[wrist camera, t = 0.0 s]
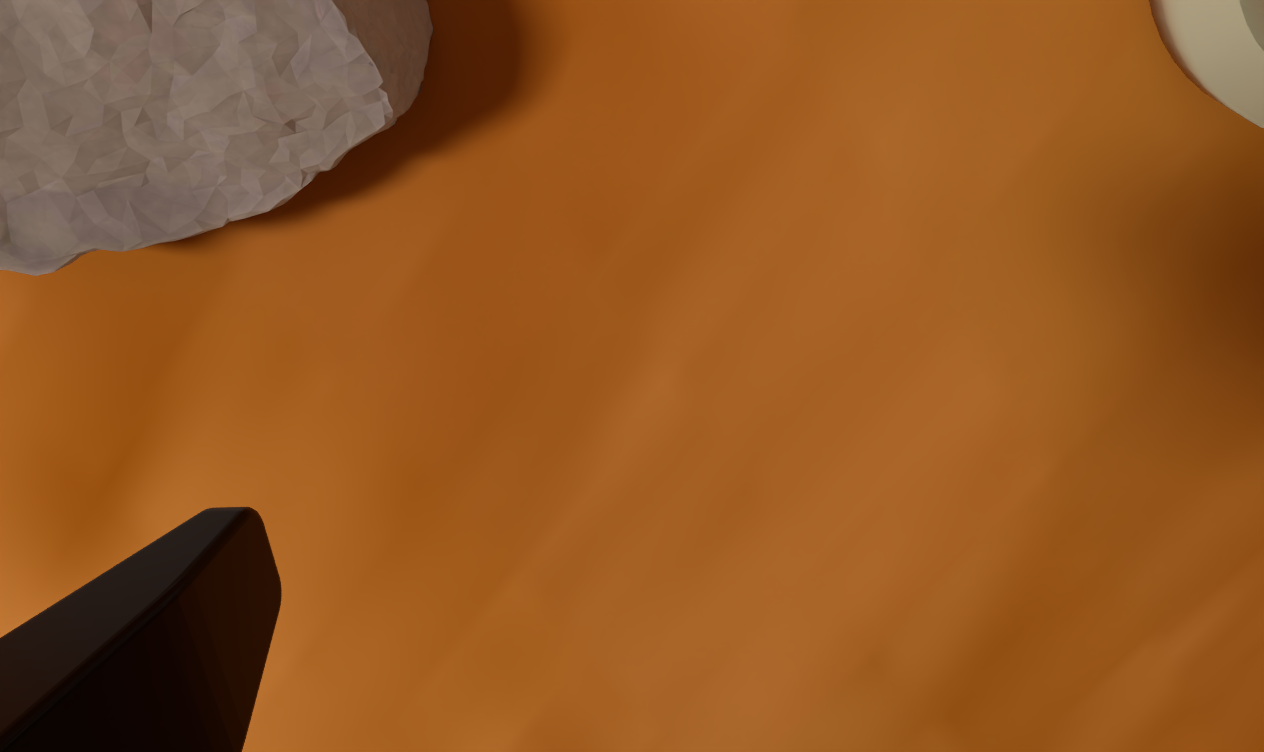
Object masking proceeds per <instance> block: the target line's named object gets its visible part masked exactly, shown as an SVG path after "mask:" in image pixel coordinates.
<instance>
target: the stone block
mask: <svg viewBox="0 0 1264 752" xmlns="http://www.w3.org/2000/svg"><path fill="white" fill-rule="evenodd" d="M432 33H433V26H432V22H431V18H430V12H429V6H428V3H427V0H0V270H9V271H14V272H19V273H24V274H29V275H34V276H36V275H41V274H46V273H51V272H55V271H57V270H59V269H61V268H63V267H65V266H67V265H69V264H71V263H72V262H74V261H75V260H76V259H78V258H79V257H80V256H81V255H84V254H86V253H88V252H91V251H96V250H101V249H103V250H110V251H128V250H134V249H139V248H144V247H147V246H151V245H154V244H158V243H165V242H171V241H177V240H181V239H185V238H188V237H192V236H196V235H199V234H202V233H205V232H207V231H210V230H213V229H216V228H220V227H223V226H224V225H226V224H227V223H228V222H231V221H235V220H240V219H245V218H248V217H251V216H254V215H257V214H261V213H264V212H268V211H270V210H272V209H275V208H277V207H279V206H281V205H283V204H285V203H286V202H287V201H288V200H290V199H291V198H292V197H293V196H294V195H295V194H296V193H297V192H299V191H300V190H301V189H302V188H303V187H305V186H306V185H307V184H309V183H310V182H311V181H312V180H313V179H314V178H315V176H316V175H317V174H318V173H319V172H320V171H328V170H331V169H332V168H334V167H336V166H337V165H338V164H339V162H340V161H341V160H342V158H343V157H344V156H345V154H346V153H347V152H348V151H350V150H351V149H352V148H353V147H355V146H357V145H359V144H361V143H363V142H364V141H366V140H368V139H369V138H371V137H372V136H373V135H375V134H377V133H379V132H381V131H384V130H386V129H388V128H390V127H391V126H393V125H394V124H395V121H397V117H399V116H400V115H403V114H404V113H405V112H406V111H407V110H408V109H409V108H410V106H411V105H412V103H413V101H414V100H415V98H416V97H417V95H418V94H419V93H420V92H421V82H422V81H423V80H424V69H425V66H426V64H427V58H428V51H429V42H430V40H431V36H432Z"/></svg>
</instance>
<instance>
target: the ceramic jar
mask: <svg viewBox="0 0 1264 752" xmlns="http://www.w3.org/2000/svg"><path fill="white" fill-rule="evenodd" d="M1149 2H1150V7H1151V12H1152V16H1153V18H1154V21H1155V24H1156V26H1157V29H1158V32H1159V35H1160V37H1161V39H1162V41H1163V43H1164V45H1165V46H1166V48H1167V50H1168V52H1169V54H1170V55H1171V57H1172V59H1173V60H1174V61H1175V63H1176V64H1177V65H1178V66H1179V68H1180V69H1181V70H1182V71H1183V73H1184V74H1185V75H1186V76H1187V78H1188V79H1190V80H1191V81H1192V82H1193V83H1194V84H1195V85H1196V86H1197V87H1199V88H1200V89H1201V90H1202V91H1203V92H1204V93H1205V94H1207V95H1209V96H1210V97H1212V98H1213V99H1215V100H1217V101H1218V102H1220V103H1221V104H1223V105H1224V106H1226V107H1228V108H1229V109H1231V110H1233V111H1234V112H1236V113H1238V114H1239V115H1241V116H1243V117H1244V118H1246V119H1248V120H1249V121H1251V122H1253V123H1254V124H1256V125H1257V126H1259V127H1261V128H1264V0H1149Z"/></svg>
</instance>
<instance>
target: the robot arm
mask: <svg viewBox="0 0 1264 752" xmlns="http://www.w3.org/2000/svg"><path fill="white" fill-rule="evenodd" d="M280 605H281V582H280V577H279V574H278V570H277V567H276V564H275V560H274V557H273V553H272V550H271V547H270V543H269V540H268V537H267V533H266V530H265V526H264V523H263V521H262V518H261V516H260V515H259V514H258V512H257V511H255V510H254V509H252V508H250V507H223V508H209V509H206V510H204V511H202V512H200V513H199V514H197V515H195V516H194V517H192V518H191V519H189V520H188V521H186V522H184V523H183V524H181V525H180V526H178V527H176V528H175V529H173V530H172V531H170V532H168V533H167V534H165V535H164V536H162V537H160V538H159V539H157V540H156V541H154V542H152V543H151V544H149V545H148V546H146V547H144V548H143V549H141V550H140V551H138V552H137V553H135V554H133V555H132V556H130V557H129V558H127V559H125V560H124V561H122V562H121V563H119V564H117V565H116V566H114V567H113V568H111V569H109V570H108V571H106V572H105V573H103V574H101V575H100V576H98V577H97V578H95V579H94V580H92V581H90V582H89V583H87V584H86V585H84V586H82V587H81V588H79V589H78V590H76V591H74V592H73V593H71V594H70V595H68V596H66V597H65V598H63V599H62V600H60V601H58V602H57V603H55V604H54V605H52V606H50V607H49V608H47V609H46V610H44V611H43V612H41V613H39V614H38V615H36V616H35V617H33V618H31V619H30V620H28V621H27V622H25V623H23V624H22V625H20V626H19V627H17V628H15V629H14V630H12V631H11V632H9V633H7V634H6V635H4V636H3V637H1V638H0V752H242V749H243V746H244V742H245V739H246V735H247V731H248V728H249V724H250V720H251V716H252V712H253V709H254V705H255V701H256V697H257V693H258V690H259V686H260V682H261V678H262V674H263V671H264V667H265V663H266V659H267V655H268V652H269V648H270V644H271V640H272V636H273V633H274V629H275V625H276V621H277V617H278V614H279V610H280Z"/></svg>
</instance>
